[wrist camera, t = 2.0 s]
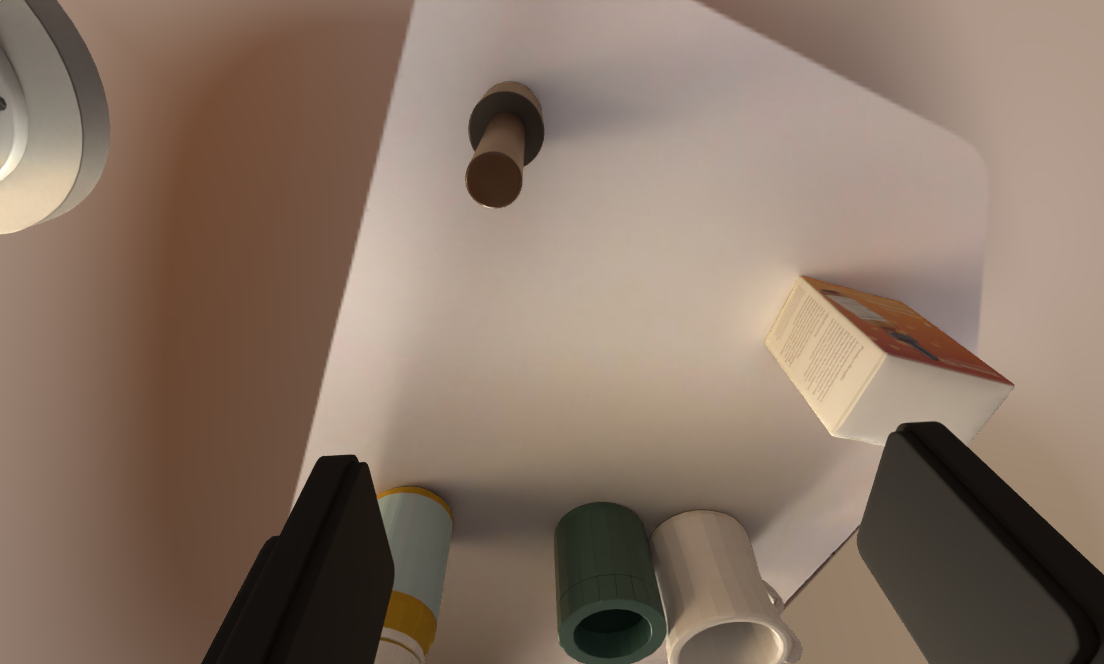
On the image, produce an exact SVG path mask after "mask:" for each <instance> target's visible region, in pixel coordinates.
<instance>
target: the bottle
mask: <svg viewBox="0 0 1104 664" xmlns="http://www.w3.org/2000/svg"><path fill="white" fill-rule="evenodd" d="M377 500H378V504H379V508H380V512H381V516H382V519H383V523H384V527H385V531H386V535H387V539H388V542H389V546H390V550H391V554H392V558H393V561H394V567H395V578H394V585H393V589H392V593H391V597H390V601H389V605H388V609H387V613H386V618H385V622H384V626H383V630H382V634H381V638H380V642H379V646H378V650H377V654H376V658H375V662H374V664H424V658H425V656H426V654H427V653H428V651H429V649H430V647H431V645H432V643H433V642H434V638H435V633H436V629H437V622H438V616H439V610H440V604H441V597H442V591H443V585H444V579H445V572H446V566H447V560H448V554H449V547H450V541H451V535H452V526H453V516H452V513H451V510H450V508H449V507H448V505H447V504H446V503H445V502H444V501H443V500H442V499H441V498H440V497H439V496H437V495H436V494H434V493H433V492H431V491H429V490H426V489H423V488H420V487H412V486H404V487H397V488H393V489H390V490H388V491H385V492H383V493H381V494H379V495H378V496H377Z"/></svg>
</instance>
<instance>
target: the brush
mask: <svg viewBox="0 0 1104 664" xmlns="http://www.w3.org/2000/svg"><path fill="white" fill-rule="evenodd" d="M468 132H469V139H470V142H471V145H472V147H473V150H474V151H475V153H474V155H473V157H472V159H471V162H470V164H469V166H468V168H467V171H466V176H465V182H466V187H467V190H468V192H469V194H470V195H471V197H472V198H473V199H474V200H475V201H476V202H477V203H479V204H480V205H482V206H484V207H487V208H492V209H498V208H503V207H506V206H508V205H510V204H511V203H512V202H514V201H515V200H516V198H517V197H518V195H519V194H520V191H521V188H522V181H523V167H524V166H526V165H528V164H529V163H530V162H531V161H533V159H534V158H535V157H536V156H537V155H538V153H539V151H540V149H541V147H542V144H543V140H544V124H543V116H542V109H541V105H540V103H539V101H538V99H537V97H536V96H535V94H534V93H533V92H532V91H531V90H530V89H529V88H528V87H526V86H524V85H522V84H520V83H517V82H502V83H499V84H497V85H495V86H493V87H492V88H490V89H489V90H488V91H487V92H486V94H485V95H484V96H483V97H482V99H481V100H480V101H479V102H478V104H477V105H476V106H475V108H474V110H473V112H472V114H471V116H470V120H469V127H468Z"/></svg>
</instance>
